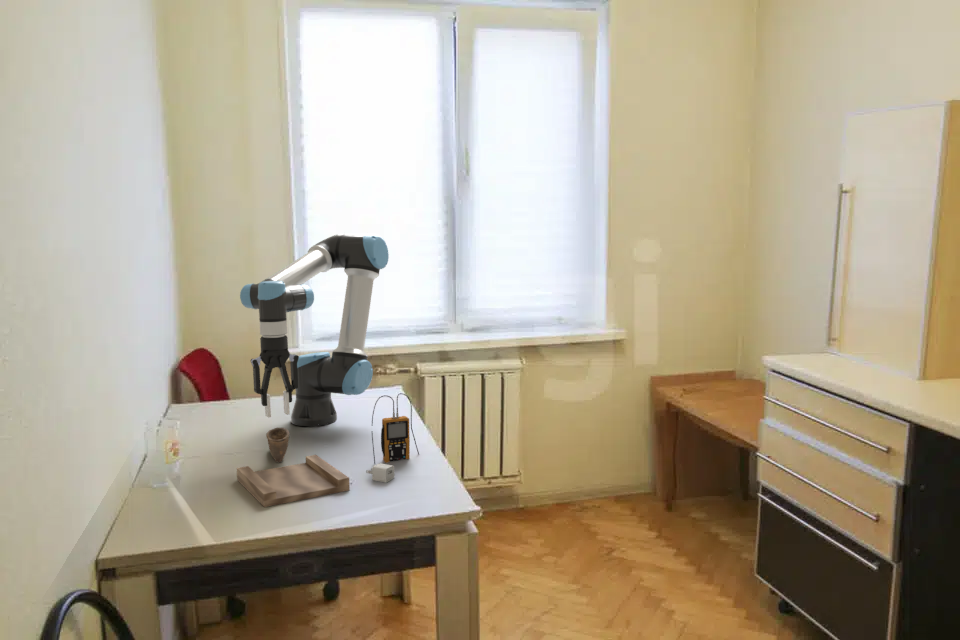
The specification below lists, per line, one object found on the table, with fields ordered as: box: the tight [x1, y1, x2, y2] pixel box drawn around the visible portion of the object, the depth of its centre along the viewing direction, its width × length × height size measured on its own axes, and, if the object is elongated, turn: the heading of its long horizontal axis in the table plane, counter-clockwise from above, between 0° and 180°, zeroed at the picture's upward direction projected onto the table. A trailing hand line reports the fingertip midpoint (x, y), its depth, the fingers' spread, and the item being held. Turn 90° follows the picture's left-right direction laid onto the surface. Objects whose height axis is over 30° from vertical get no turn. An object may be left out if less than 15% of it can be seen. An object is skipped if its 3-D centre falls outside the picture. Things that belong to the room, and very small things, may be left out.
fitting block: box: [236, 454, 351, 508], centre depth 200 cm, size 22×24×3 cm
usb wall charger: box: [365, 463, 395, 483], centre depth 204 cm, size 4×7×4 cm, turn 62°
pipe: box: [265, 427, 291, 464], centre depth 222 cm, size 6×17×10 cm, turn 20°
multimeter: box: [371, 393, 420, 465], centre depth 214 cm, size 15×10×20 cm
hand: (277, 414), depth 221 cm, fingers open, 5 cm apart
